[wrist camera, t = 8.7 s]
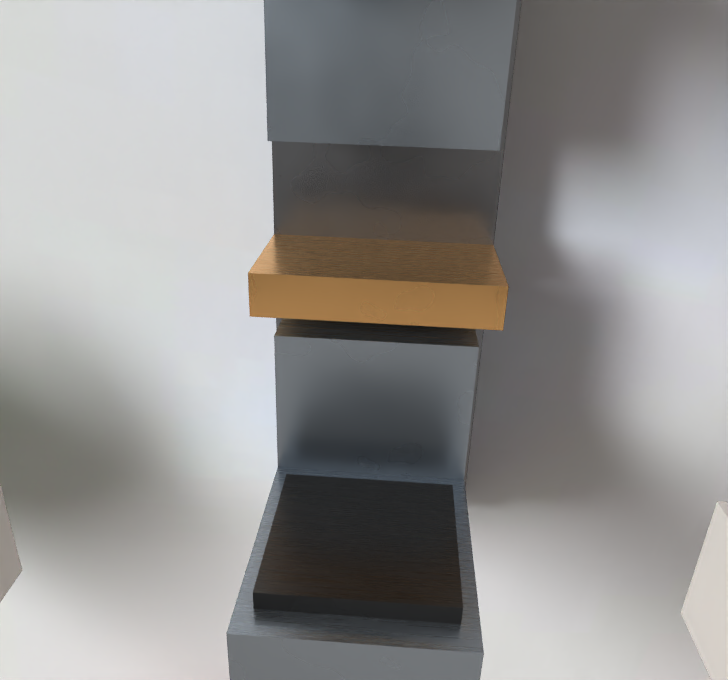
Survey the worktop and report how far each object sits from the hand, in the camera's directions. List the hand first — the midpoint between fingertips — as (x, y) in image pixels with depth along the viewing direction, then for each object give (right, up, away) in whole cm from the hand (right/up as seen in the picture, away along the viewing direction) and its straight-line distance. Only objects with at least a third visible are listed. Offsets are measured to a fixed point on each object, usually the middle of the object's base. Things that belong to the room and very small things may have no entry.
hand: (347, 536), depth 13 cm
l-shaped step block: (+1, +2, +6) cm, 7 cm away
